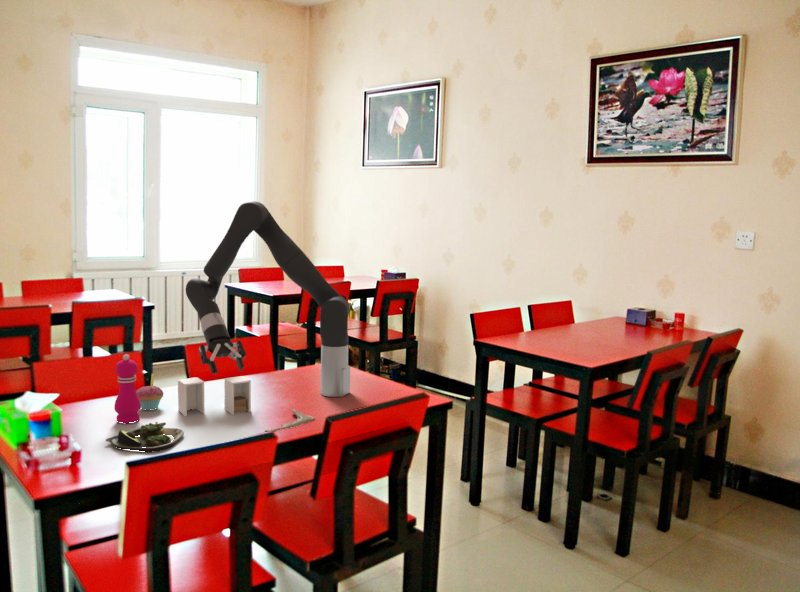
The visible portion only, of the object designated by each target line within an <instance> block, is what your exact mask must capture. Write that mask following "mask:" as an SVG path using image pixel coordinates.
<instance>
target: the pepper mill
mask: <svg viewBox="0 0 800 592" xmlns="http://www.w3.org/2000/svg"><path fill="white" fill-rule="evenodd" d="M138 370H139V368H138V364H137V363H136V361H134V360H133V359H130V355H129V354H124V355H123V356H122V360H120V361H117V364H115V373H116V375H118V376H117V383H118V384H119V390H118V394H117V396H116V399H115V401H114V412H115V413H117V415H116V422H117V421H118V422H123V423H129V422H134V421H137V420H139V421H140V413H139V412H140V410H141V403H140V399H139V397H138V396H137V393H136V391H137V390H136V388H135V387H136V386H135V384H136V383H135V382H136V381H137V376H136V373H137V372H138Z"/></svg>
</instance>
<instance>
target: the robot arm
mask: <svg viewBox="0 0 800 592" xmlns="http://www.w3.org/2000/svg"><path fill="white" fill-rule="evenodd" d="M253 231H254V232H255V233H256V234H257V235H258V236H259V237H260V238H261V239H262V240H263V241H264V243H265V244H266V246H267V248H268V249H269V251H270V253H271V255H272V257H273V259H274V260H275V261H274V262H276V264H277V265H278V267H279V268H280V269H281V270H282V271H283V273H285V274H286V276H287V277H288V278H289V279H290V280H291V281H292V282H293V283H294V284H296V285H297V286H299V288H301V289H303V291H305V292H307V293H308V294H309V295H310V296H311V297H312V298H313V299H314V301H315V302H316V304H318V306H319V307H320V312H319V313H320V314H319V334H320V341H321V342H320V394H321V396H324V397H325V396H326V397H330V398H331V397H332V398H334V397H335V398H337V397H341V398H342V397H345V396H347V394H349V393H351V365H349V332H348V331H349V329H348V328H349V327H348V324H349V323H348V322H349V321H348V319H349V316H350V312H351V309H350V308H351V307H350V305H349V302H348V301H347V300H346V299H345V298H344V297H343V295H341V294H340V293H339V292H338V291H337V290H336V289H335V288H333V286H332V285H331V284H330V283H329V282H328V280H326V278H324V276H323V275H322V273H321V272H320V271H319V270H318V269H317V267H316V266H315V264H314V263H313V262H312V261H311V260H310V258H309V256H307V254H306V253H305V252H304V251H303V250H302V249H301V248H300V246H298V245H297V243H295V241H294V240H293V239H292V238H291V237H290V236H289V235H288V234H287V233H286V232H285V231H284V230H283V229H282V228H281V227H280V225H279V224H278V222H277V221H276V220H275V218H274V217H273V215H272V214H271V212H270V211H269V209H268V208H267V207H266V206H265V205H264V204H263V203H262V202H260V201H256V200H252V201H246V202H244V203H241V204H240V205H239V207H238V209H237V210H236V213H235V215H234V216H233V219H232V221H231V224H230V226H229V228H228V230H227V232H226V233H225V235H224V236H223V239H222V240H221V241H220V243H219V245H218V246H217V247H216V249H215V251H214V252H213V254H212V255H211V257H210V258H209V259H208V261H207V262H206V264H205V266H204V267H203V273H204V275H205V276H206V277H208V279H207V280H203V279H200V278H191V279H190V280H188V281H187V283H186V286H185V295H186V297H187V299H188V301H189V303H190V304H191V306H192V307H193V309H194V310H195V311H196V312H197V316H198V319H199V322H200V327H201V331H202V333H203V337H204V340H205V343H206V345H204V344H200V346H199V348H198V353H199V358H200V362H201V364H202V365H208V366H209V369H210V373H212V374H213V375H217V374H218V371H219V370H218V368H217V364H216V361H214V360H215V358H218V359H219V358H227V357H229V358H230V359H233V360H234V361H235V363H236V366H237V370H238V371H239V372H242V371H243V370H244V368H245V364H244V362H243V360H245V358H246V356H247V352H246V350H245V348H244V345H243V343H242V341H241V340H237V342H232V341H231V336H230V334H229V331H228V329H227V326H226V322H225V320H224V318H223V316H222V314H221V311H220V310H221V309H220V307H219V305H218V304H217V302H216V301H214V300H215V298H216V297H217V296H218V293H219V290H220V288H221V285H222V281H223V278H224V277H225V275H226V274H227V272H228V271H229V270H230V268H231V267H232V265H233V263H234V261H235V259H236V258H237V255H238V254H239V253H238V252H239V251H240V249H241V246H243V244H244V242H245V240H246V239H248V237H249V236H250V235H251V233H253ZM207 351H208V352H209V353H210V354H211V356H210V358H209V357H208V354H207Z"/></svg>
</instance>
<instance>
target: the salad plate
mask: <svg viewBox="0 0 800 592" xmlns="http://www.w3.org/2000/svg"><path fill="white" fill-rule="evenodd" d="M166 425H167V422H159V421H155V423H152V422H149V423H148V424H142V425H141V426H138V427H133V428H130V429H128V430H127V431H126V430H123V429H121V430H119V431H118V434H117V435H114V436H110V437H107V438H106V439H105V442H108V443H110V444H111V445H112V446H113V447H114V446H115V447H117V448H121V449H130V450H139V451H145V452H147V453H153V452H152V451H157V452H161V451H160V450H162V451H165V450H166V449H169V448H171V447H172V446H174V445H175V444H176V443H177V442H178V441H179V440H180V439H181V438H182V436H184V434H185V432H184V430H183V429H181V428H175V427H172V428H171V427H164V426H166ZM163 434H165V435H163ZM138 435H140V437H135V436H138ZM167 435H172V436H173V437H174V440H173V439H172V437H171V436H167ZM172 440H173V441H172ZM171 441H172V442H171ZM115 447H114V448H115ZM142 447H146V448H142ZM164 449H165V450H164Z"/></svg>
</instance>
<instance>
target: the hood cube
mask: <svg viewBox="0 0 800 592" xmlns="http://www.w3.org/2000/svg"><path fill="white" fill-rule="evenodd" d="M251 382H252V381H251V379H249V378H248V377H245V376H243V375H240V376H239V375H238V376H232V377H226V378H224V410H225V411H226V412H228V413H230V414H231V415H232V416H233V415H235V413H234V397H237V396H242V397H244V398H245V399H246V412H247V411H248V412H252V408H251V407H252V403H251V402H252V400H251V399H252V398H251V397H252V396H251V393H252V392H251V391H252V390H251V389H252V388H251V387H252V385H251V384H252V383H251Z"/></svg>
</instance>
